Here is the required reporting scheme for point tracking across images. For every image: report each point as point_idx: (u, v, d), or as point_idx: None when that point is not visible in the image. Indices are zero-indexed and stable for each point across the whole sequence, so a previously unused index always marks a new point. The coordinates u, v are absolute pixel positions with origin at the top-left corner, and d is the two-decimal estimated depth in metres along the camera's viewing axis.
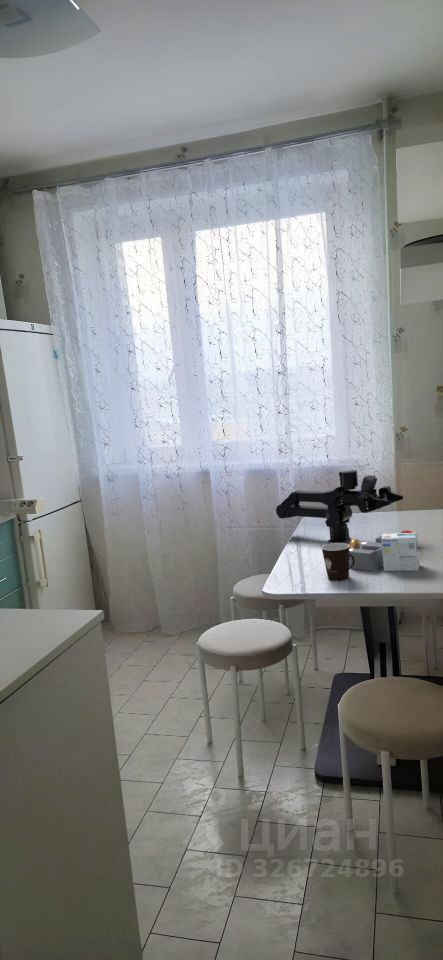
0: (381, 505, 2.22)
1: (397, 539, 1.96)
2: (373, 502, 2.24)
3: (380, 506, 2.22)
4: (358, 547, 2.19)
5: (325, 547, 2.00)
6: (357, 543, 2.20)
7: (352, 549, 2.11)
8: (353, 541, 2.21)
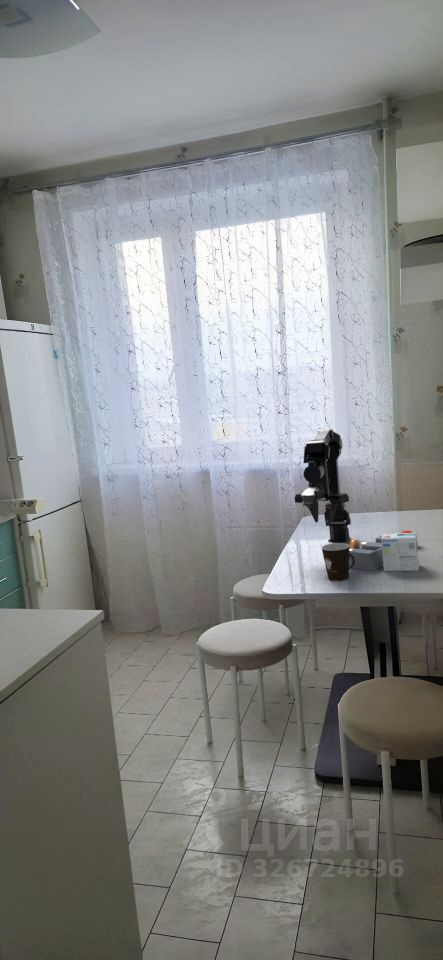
0: None
1: (397, 539, 1.96)
2: None
3: None
4: (358, 547, 2.19)
5: (325, 547, 2.00)
6: (357, 543, 2.20)
7: (352, 549, 2.11)
8: (353, 541, 2.21)
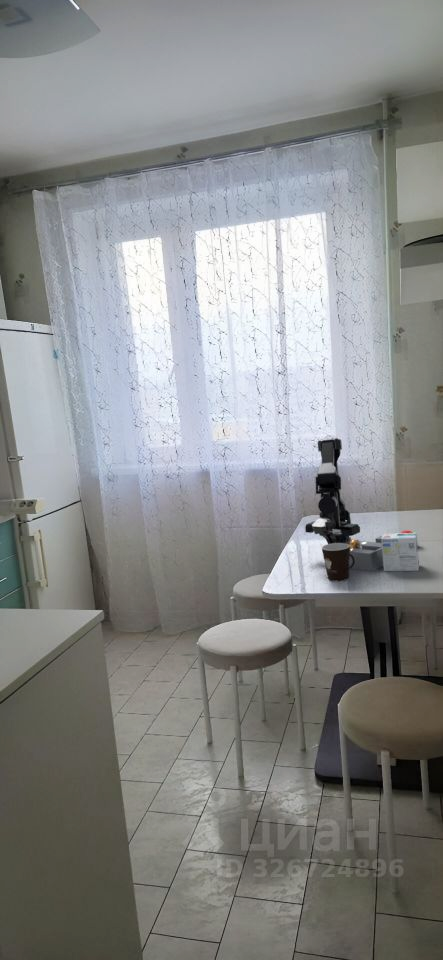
0: None
1: (397, 539, 1.96)
2: None
3: None
4: (358, 547, 2.19)
5: (325, 547, 2.00)
6: (357, 543, 2.20)
7: (352, 549, 2.11)
8: (353, 541, 2.21)
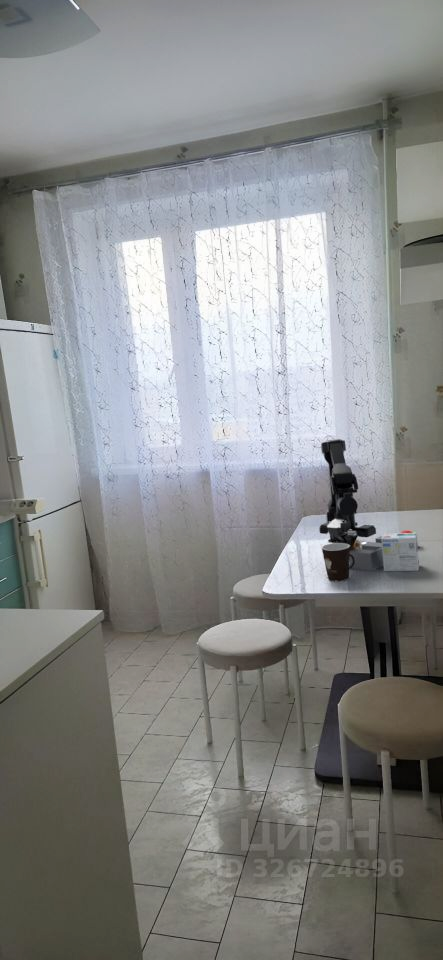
0: None
1: (397, 539, 1.96)
2: None
3: None
4: (358, 547, 2.19)
5: (325, 547, 2.00)
6: (357, 543, 2.20)
7: None
8: None
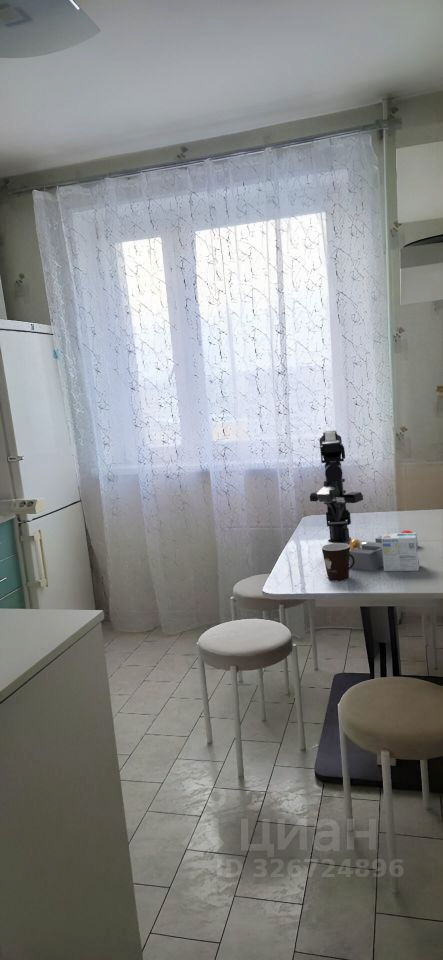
0: None
1: (397, 539, 1.96)
2: None
3: None
4: (358, 547, 2.19)
5: (325, 547, 2.00)
6: (357, 543, 2.20)
7: None
8: (353, 541, 2.21)
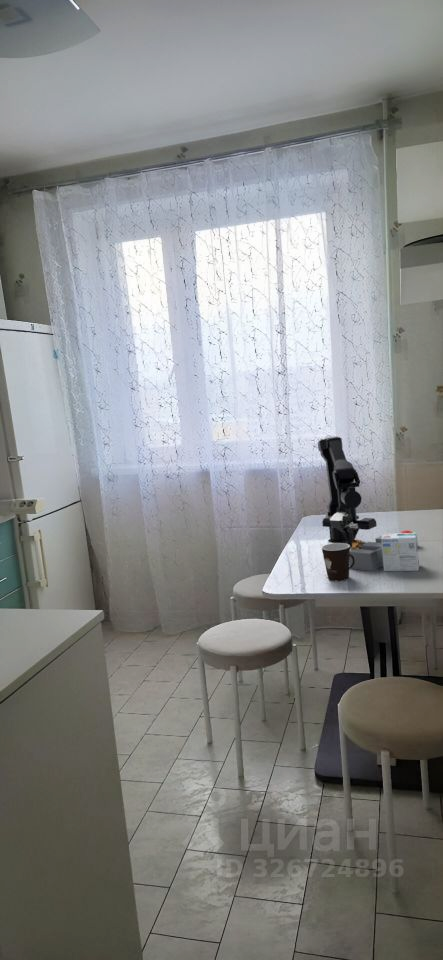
0: None
1: (397, 539, 1.96)
2: None
3: None
4: (361, 547, 2.18)
5: (325, 547, 2.00)
6: (360, 543, 2.19)
7: None
8: (356, 541, 2.20)
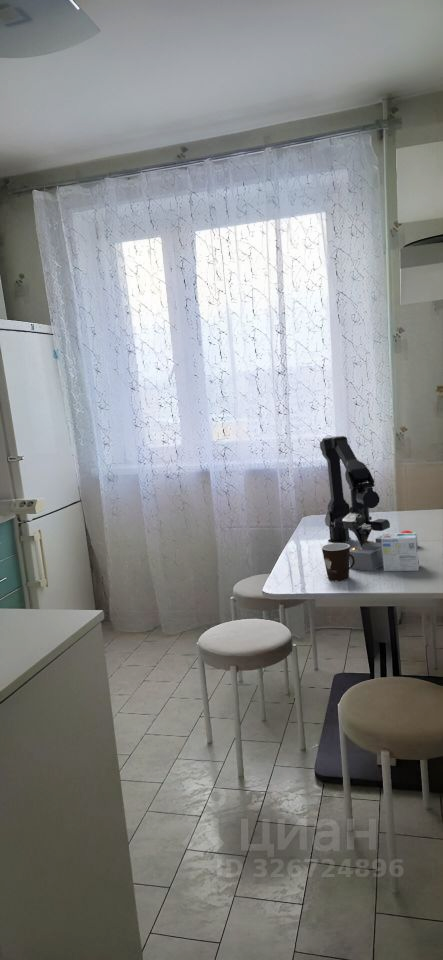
0: None
1: (397, 539, 1.96)
2: None
3: None
4: None
5: (325, 547, 2.00)
6: None
7: None
8: None
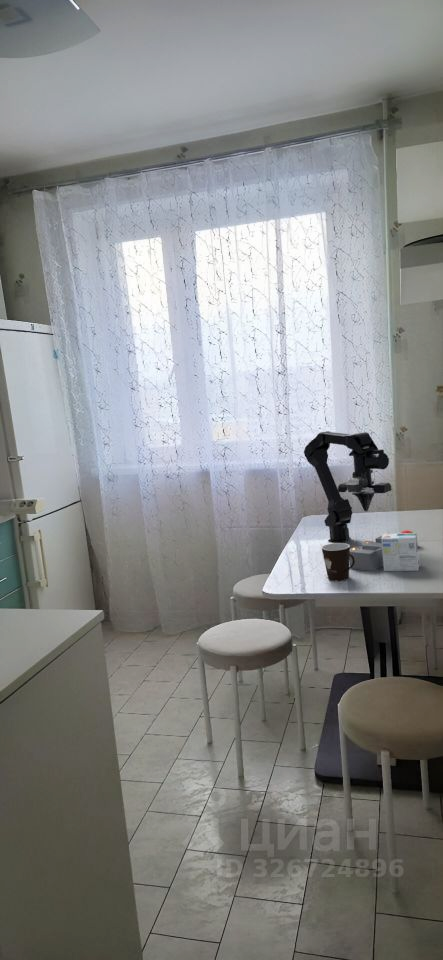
0: None
1: (397, 539, 1.96)
2: None
3: None
4: None
5: (325, 547, 2.00)
6: None
7: None
8: None
